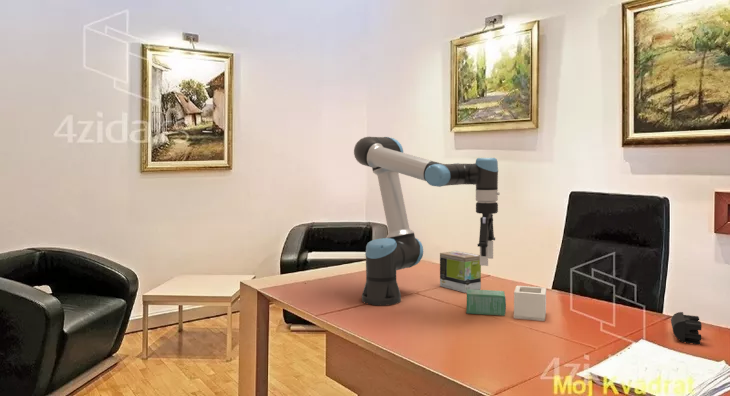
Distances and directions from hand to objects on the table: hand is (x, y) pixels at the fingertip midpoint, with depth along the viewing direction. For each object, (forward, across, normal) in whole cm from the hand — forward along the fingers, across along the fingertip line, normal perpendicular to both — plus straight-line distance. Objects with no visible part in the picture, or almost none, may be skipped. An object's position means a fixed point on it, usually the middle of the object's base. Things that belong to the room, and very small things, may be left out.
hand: (486, 261), depth 186 cm
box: (+18, -1, 0) cm, 18 cm away
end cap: (+18, -9, -60) cm, 63 cm away
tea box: (+18, +31, +15) cm, 39 cm away
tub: (+18, 0, -15) cm, 23 cm away
